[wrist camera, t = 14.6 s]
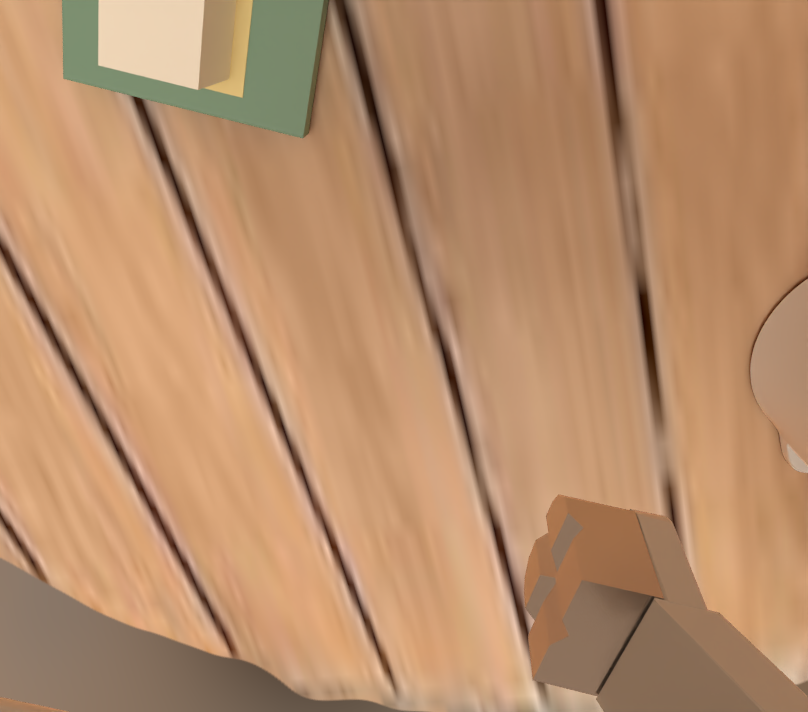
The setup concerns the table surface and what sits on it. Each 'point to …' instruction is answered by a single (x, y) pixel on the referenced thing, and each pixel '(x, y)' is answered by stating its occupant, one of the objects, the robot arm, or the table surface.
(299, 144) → the table surface
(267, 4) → the header board
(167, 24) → the housing
